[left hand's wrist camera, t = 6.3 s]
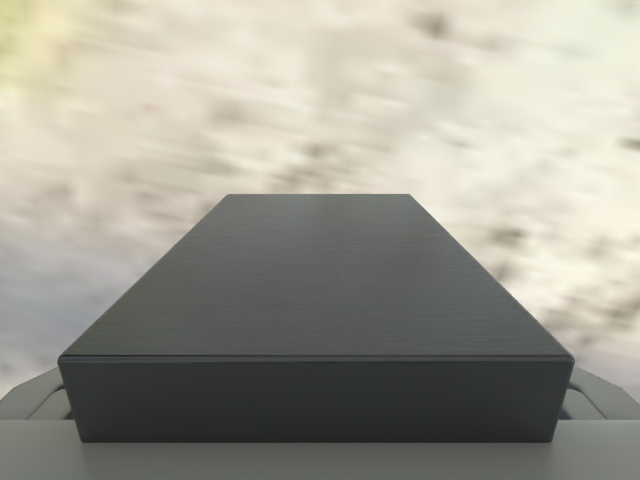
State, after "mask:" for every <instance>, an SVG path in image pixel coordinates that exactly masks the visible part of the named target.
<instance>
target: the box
mask: <svg viewBox="0 0 640 480" xmlns="http://www.w3.org/2000/svg"><path fill="white" fill-rule="evenodd" d="M574 364H575V361H574V358H573V356H572V355H571V354H570V353H569V352H568V351H567V350H566V349H565V348H564V347H563V346H562V345H561V344H560V343H559V342H558V341H557V340H556V339H555V338H554V337H553V336H552V335H551V334H550V333H549V332H548V331H547V330H546V329H545V328H544V327H543V326H542V325H541V324H540V323H539V322H538V321H537V320H536V319H535V318H534V317H533V316H532V315H531V314H530V313H529V312H528V311H527V310H526V309H525V308H524V307H523V306H522V305H521V304H520V303H519V302H518V301H517V300H516V299H515V298H514V297H513V296H512V295H511V294H510V293H509V292H508V291H507V290H506V289H505V288H504V287H503V286H502V285H501V284H500V283H499V282H498V281H497V280H496V279H495V278H494V277H493V276H492V275H491V274H490V273H489V272H488V271H487V270H486V269H485V268H484V267H483V266H482V265H481V264H480V263H479V262H478V261H477V260H476V259H475V258H474V257H473V256H472V255H471V254H470V253H469V252H467V251H466V250H465V249H464V248H463V247H462V246H461V245H460V244H459V243H458V242H457V241H456V240H455V239H454V238H453V237H452V236H451V235H450V234H449V233H448V232H447V231H446V230H445V229H444V228H443V227H442V226H441V225H440V224H439V223H438V222H437V221H436V220H435V219H434V218H433V217H432V216H431V215H430V214H429V213H428V212H427V211H426V210H425V209H424V208H423V207H422V206H421V205H420V204H419V203H418V202H417V201H416V200H415V199H414V198H413V197H412V196H411V195H410V194H228V195H226V196H225V197H224V198H223V199H222V200H221V201H220V202H219V203H218V204H217V205H216V206H215V207H214V208H213V209H212V210H211V211H210V212H209V213H208V214H207V215H206V216H205V217H204V218H203V219H201V220H200V221H199V222H198V223H197V224H196V225H195V226H194V227H193V228H192V229H191V230H190V231H189V232H188V233H187V234H186V235H185V236H184V237H183V238H182V239H181V240H180V241H179V242H178V243H177V244H175V245H174V246H173V247H172V248H171V249H170V250H169V251H168V252H167V253H166V254H165V255H164V256H163V257H162V258H161V259H160V260H159V261H158V262H157V263H156V264H155V265H154V266H153V267H152V268H151V269H149V270H148V271H147V272H146V273H145V274H144V275H143V276H142V277H141V278H140V279H139V280H138V281H137V282H136V283H135V284H134V285H133V286H132V287H131V288H130V289H129V290H128V291H127V292H126V293H125V294H123V295H122V296H121V297H120V298H119V299H118V300H117V301H116V302H115V303H114V304H113V305H112V306H111V307H110V308H109V309H108V310H107V311H106V312H105V313H104V314H103V315H102V316H101V317H100V318H99V319H97V320H96V321H95V322H94V323H93V324H92V325H91V326H90V327H89V328H88V329H87V330H86V331H85V332H84V333H83V334H82V335H81V336H80V337H79V338H78V339H77V340H76V341H75V342H74V343H73V344H71V345H70V346H69V347H68V348H67V349H66V350H65V351H64V352H63V353H62V354H61V355H60V356H59V358H58V367H59V370H60V373H61V377H62V380H63V383H64V387H65V390H66V393H67V397H68V400H69V403H70V407H71V410H72V413H73V417H74V420H75V423H76V427H77V430H78V433H79V437H80V440H81V442H83V443H550V442H552V440H553V436H554V433H555V429H556V426H557V422H558V419H559V416H560V412H561V409H562V405H563V402H564V398H565V395H566V391H567V388H568V384H569V381H570V378H571V374H572V371H573V367H574Z"/></svg>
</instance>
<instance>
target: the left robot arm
mask: <svg viewBox="0 0 640 480" xmlns="http://www.w3.org/2000/svg"><path fill="white" fill-rule="evenodd" d="M0 480H640V405H639V404H638V403H637V402H636V401H635V400H634V399H633V398H632V397H631V396H630V395H629V394H628V393H626V392H625V391H624V390H623V389H622V388H621V387H618V386H616V385H614V384H612V383H610V382H608V381H606V380H604V379H602V378H600V377H597V376H595V375H593V374H591V373H589V372H587V371H585V370H583V369H581V368H579V367H576V366H574V367H573V371H572V374H571V378H570V381H569V384H568V388H567V391H566V395H565V398H564V402H563V405H562V409H561V412H560V416H559V419H558V422H557V426H556V429H555V433H554V436H553V440H552V442H550V443H83V442H81V440H80V437H79V433H78V430H77V427H76V423H75V420H74V417H73V413H72V410H71V407H70V403H69V400H68V397H67V393H66V390H65V387H64V383H63V380H62V377H61V373H60V370H59V367H57V368H54V369H52V370H50V371H48V372H46V373H44V374H42V375H40V376H37V377H35V378H33V379H31V380H29V381H27V382H25V383H23V384H20V385H18V386H16V387H14V388H13V389H12V390H11V391H10V392H9V393H8V394H6V395H5V396H4V397H3V398H2V399H1V400H0Z"/></svg>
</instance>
